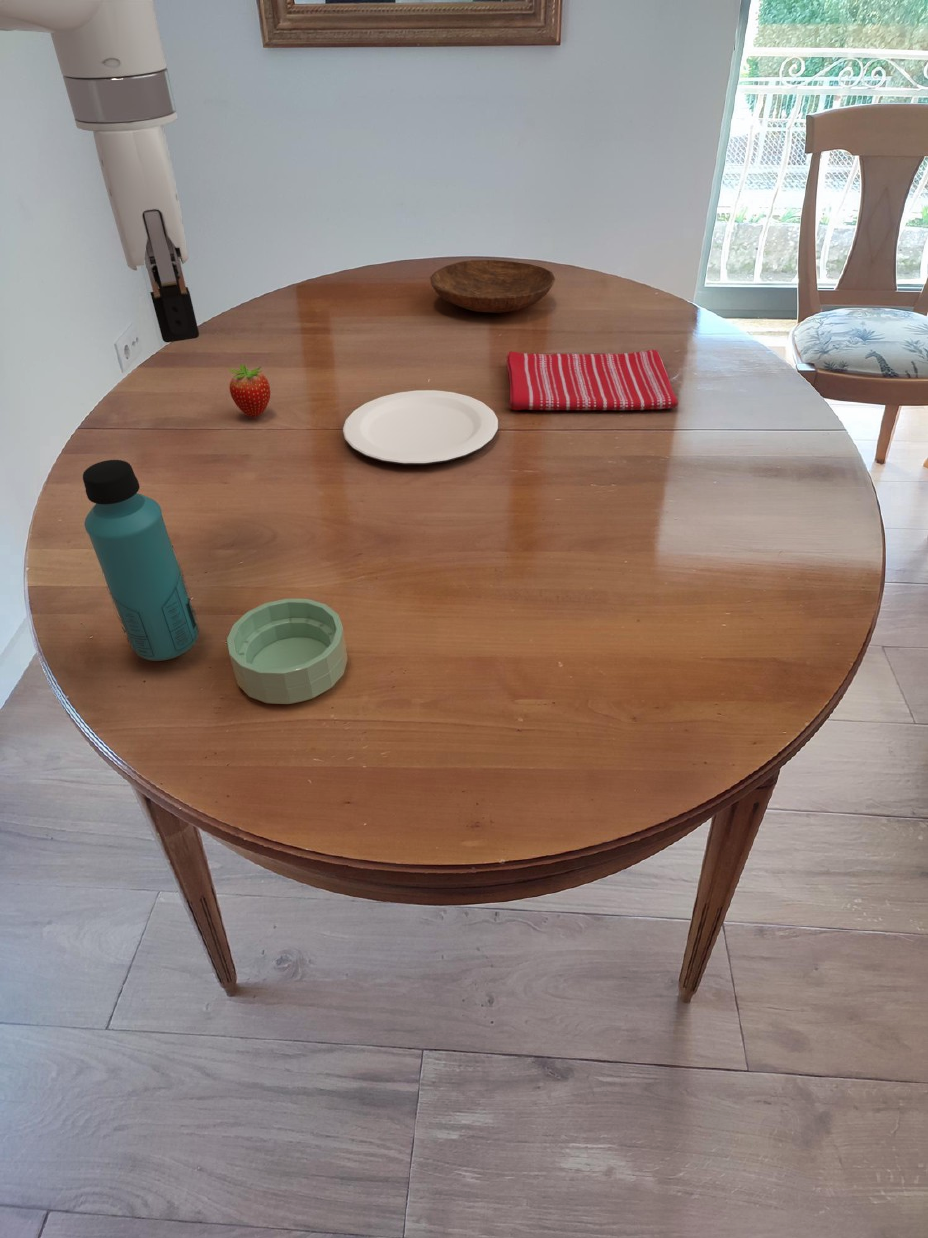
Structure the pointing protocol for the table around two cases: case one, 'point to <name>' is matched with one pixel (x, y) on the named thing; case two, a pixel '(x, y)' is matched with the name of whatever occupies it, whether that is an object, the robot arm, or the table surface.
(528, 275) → the bowl
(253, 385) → the fruit
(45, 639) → the table surface
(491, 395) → the table surface
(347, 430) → the plate
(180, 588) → the beverage bottle
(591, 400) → the dish towel
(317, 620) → the celadon bowl
